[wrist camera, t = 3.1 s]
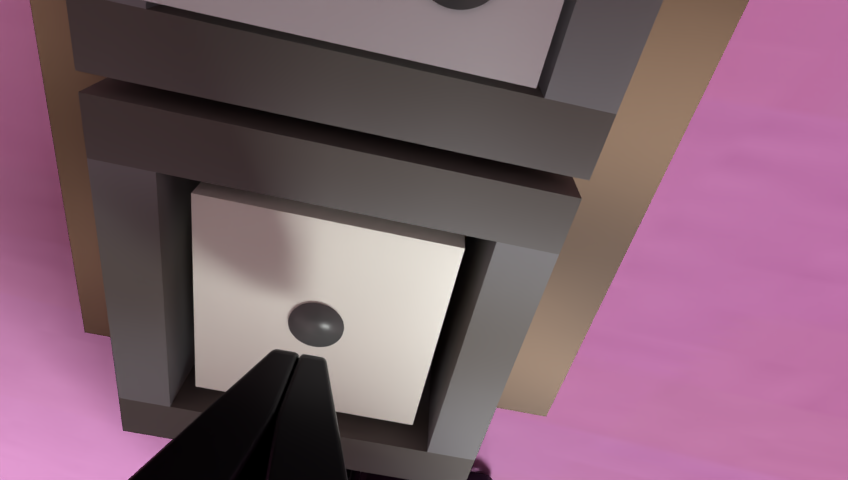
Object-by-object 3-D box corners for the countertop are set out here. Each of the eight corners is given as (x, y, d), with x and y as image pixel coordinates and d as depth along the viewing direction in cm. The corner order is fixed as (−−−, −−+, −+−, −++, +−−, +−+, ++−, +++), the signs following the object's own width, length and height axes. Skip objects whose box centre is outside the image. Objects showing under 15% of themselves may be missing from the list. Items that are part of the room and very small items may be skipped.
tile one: (419, 344, 13) (412, 426, 11) (236, 309, 13) (194, 388, 11) (462, 183, 11) (465, 249, 9) (241, 137, 11) (190, 194, 8)
